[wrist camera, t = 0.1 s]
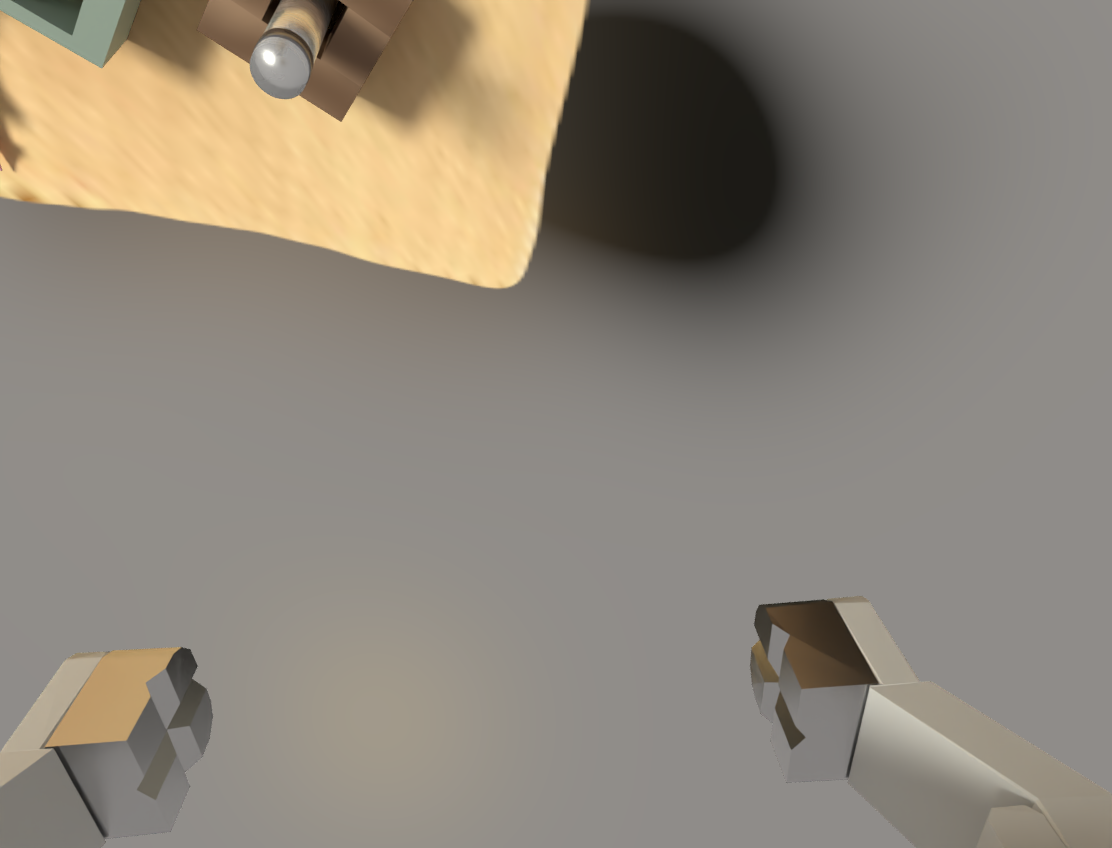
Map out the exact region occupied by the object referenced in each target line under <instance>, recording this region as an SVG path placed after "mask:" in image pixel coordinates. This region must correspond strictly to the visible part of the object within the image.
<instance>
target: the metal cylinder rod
mask: <svg viewBox="0 0 1112 848" xmlns="http://www.w3.org/2000/svg"><path fill="white" fill-rule="evenodd" d="M337 2H338V0H281V1H280V3H279V5H278V7H277V9H276V11H275V13H274V14H273V16H272V18H271V20H270V22H269V24H268V26H267V27H266V29H265V31H264V33H263V34H262V35H261V37H260V38H259V40H258V42H257V44H256V46H255V48H254V50H253V54H252V56H251V59H250V71H251V74H252V77H253V79H254V81H255V82H256V84H257V85H258V86H259V87H260V88H261V89H262V90H263V91H264V92H266V93H267V94H269V95H270V96H273V97H275V98H279V99H291V98H294V97H296V96H298V95H299V94H300V93H301V92H302V91H303V90H304V88H305V86H306V84H307V83H308V80H309V78H310V75H311V73H312V70H313V65H314V62H315V60H316V57H317V54H318V52H319V49H320V47H321V44H322V41H323V39H324V36H325V34H326V31H327V28H328V26H329V23H330V21H331V18H332V15H333V13H334V10H335V8H336V5H337Z"/></svg>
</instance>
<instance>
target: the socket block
mask: <svg viewBox="0 0 1112 848" xmlns="http://www.w3.org/2000/svg"><path fill="white" fill-rule="evenodd" d="M280 1H281V0H209V1H208V4H207V6H206V9H205V11H204V13H203V16H202V18H201V21H200V23H199V25H198V28H197V31H199V32H200V33H202V34H204V35H205V36H207V37H208V38H210V39H211V40H213V41H215V42H216V43H218V44H219V45H221V46H222V47H224V48H226V49H227V50H229V51H230V52H232V53H233V54H235V55H237V56H238V57H240V58H241V59H243V60H245V61H246V62H248V63H249V64H250V59H251V56H252V54H253V50H254V48H255V46H256V44H257V42H258V40H259V38H260V37H261V35H262V34H263V33H264V31H265V29H266V27H267V26H268V24H269V22H270V20H271V18H272V16H273V14H274V13H275V11H276V9H277V7H278V5H279V3H280ZM339 1H340V2H342V3H343V4H344V5H345V6H344V8H343V10H342V12H341V14H340V16H339V18H338V19H337V21H336V23H335V25H334V27H333V29H332V31H331V32H330V31H329V30H327V31H326V34H325V36H324V39H323V41H322V44H321V47H320V49H319V52H318V54H317V57H316V60H315V62H314V65H313V70H312V73H311V75H310V78H309V80H308V83H307V84H306V86H305V88H304V90H303V91H302V92H301V93H300V94H299V95H300V96H301V97H303V98H304V99H306V100H307V101H309V102H311V103H312V104H314V105H315V106H317V107H319V108H320V109H322V110H323V111H325V112H326V113H328V114H330V115H331V116H333V117H334V118H336V119H337V120H339V121H341V122H342V120H343V118H344V116H345V115H346V113H347V111H348V110H349V108H350V106H351V105H352V103H353V101H354V99H355V98H356V96H357V94H358V93H359V91H360V89H361V88H362V86H363V84H364V83H365V81H366V79H367V77H368V76H369V74H370V72H371V71H372V69H373V67H374V66H375V64H376V62H377V60H378V59H379V57H380V55H381V54H382V52H383V50H384V49H385V47H386V45H387V44H388V42H389V40H390V38H391V37H392V35H393V33H394V32H395V30H396V28H397V27H398V25H399V23H400V21H401V20H402V18H403V16H404V15H405V13H406V11H407V10H408V8H409V6H410V5H411V3H412V1H413V0H339Z"/></svg>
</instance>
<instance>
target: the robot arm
mask: <svg viewBox="0 0 1112 848" xmlns="http://www.w3.org/2000/svg"><path fill="white" fill-rule="evenodd" d="M754 626H755V629H756V631H757V634H758V636H759V639H760V640H759V641H758V642H757V643H756V644H755V645H754V646H753V647H752V648H751V660H750V670H751V680H752V687H753V691H754V695H755V699H756V702H757V705H758V707H759V711H760V714H761V715H763V716H764V717H765V718H766V719H768V720H769V721H770V722H772V723H773V725H772V733H771V743H772V746H773V749H774V752H775V754H776V757H777V759H778V762H779V765H780V767H781V770H782V773H783V776H784V778H785V781H786V783H792V782H811V781H831V780H848V784H850V786H852V787H853V788H854V789H855V790H856V791H857V792H858V793H859V794H860V795H861V796H862V797H863V798H864V799H865V800H866V801H867V802H868V803H869V804H870V805H872V806H873V807H874V808H875V809H876V810H877V811H878V812H879V813H880V814H881V815H882V816H883V817H884V818H885V819H886V820H887V821H888V822H889V823H890V824H892V825H893V826H894V827H895V828H896V829H897V830H898V831H899V832H900V833H901V834H902V835H903V836H904V837H905V838H906V839H907V840H908V841H910V843H912V844H913V845H914V846H915V847H916V848H1112V794H1111V793H1110V792H1108V791H1106V790H1105V789H1103V788H1101V787H1100V786H1098V785H1097V784H1095V783H1093V782H1092V781H1090V780H1088V779H1087V778H1086V777H1084V776H1082V775H1081V774H1079V773H1077V772H1076V771H1074V770H1073V769H1071V768H1069V767H1068V766H1066V765H1064V764H1063V763H1061V762H1060V761H1058V760H1056V759H1055V758H1053V757H1052V756H1050V755H1049V754H1047V753H1045V752H1044V751H1042V750H1041V749H1039V748H1037V747H1036V746H1034V745H1033V744H1031V743H1029V742H1028V741H1026V740H1025V739H1023V738H1021V737H1020V736H1018V735H1016V734H1015V733H1013V732H1012V731H1010V730H1008V729H1007V728H1005V727H1004V726H1002V725H1000V724H999V723H997V722H996V721H994V720H992V719H991V718H989V717H988V716H986V715H984V714H983V713H981V712H980V711H978V710H976V709H975V708H973V707H972V706H970V705H968V704H967V703H965V702H964V701H962V700H960V699H959V698H957V697H955V696H954V695H952V694H951V693H949V692H947V691H946V690H944V689H943V688H941V687H939V686H938V685H936V684H935V683H933V682H931V681H927V682H920V680H919V679H918V677H917V676H916V674H915V673H914V671H913V670H912V668H911V666H910V665H909V663H908V662H907V660H906V658H905V657H904V655H903V654H902V652H901V651H900V649H899V647H898V646H897V644H896V643H895V641H894V640H893V639H892V637H891V635H890V633H889V632H888V630H887V629H886V627H885V626H884V624H883V622H882V621H881V619H880V618H879V616H878V615H877V613H876V612H875V610H874V608H873V607H872V605H871V604H870V602H869V600H867V599H866V598H864V597H863V596H855V597H843V598H831V599H827V600H824V599H822V600H811V601H798V602H787V603H774V604H761V605H759V606H758V608H757V610H756V615H755V622H754ZM196 669H197V663H196V661H195V659H194V656H193V654H192V652H191V650H190V649H187V648H183V647H175V648H154V649H134V650H113V651H111V652H88V653H76V654H74V655H73V656H71V657H69V658H68V659H66V660H65V661H64V662H63V664H62V665H61V667H60V668H59V669H58V671H57V672H56V674H55V675H54V677H53V678H52V679H51V681H50V682H49V684H48V685H47V686H46V688H45V689H44V691H43V692H42V694H41V695H40V696H39V698H38V699H37V701H36V702H35V703H34V705H33V706H32V708H31V709H30V710H29V712H28V713H27V715H26V716H25V718H24V719H23V720H22V722H21V723H20V725H19V726H18V727H17V729H16V730H15V732H14V733H13V734H12V736H11V737H10V739H9V740H8V742H7V743H6V745H5V746H4V747H3V749H2V750H1V752H0V848H101V847H102V846H103V845H104V844H105V843H106V841H105V839H111V838H120V837H129V836H138V835H147V834H157V833H165V832H171V830H172V828H173V825H174V823H175V821H176V818H177V816H178V814H179V811H180V809H181V807H182V804H183V802H184V799H185V797H186V795H187V792H188V790H189V788H190V785H189V782H188V779H187V777H186V774H185V772H186V771H187V770H188V769H189V768H191V767H192V766H193V765H194V764H195V763H196V762H197V761H198V760H200V759H201V758H202V757H203V754H204V752H205V749H206V746H207V744H208V741H209V739H210V733H211V726H212V719H213V714H212V705H211V700H210V697H209V694H208V691H207V689H206V688H205V687H203V686H202V685H201V684H199V683H198V682H196V681H195V680H193V679H192V677H193V675H194V673H195V671H196Z"/></svg>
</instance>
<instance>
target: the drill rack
mask: <svg viewBox="0 0 1112 848" xmlns="http://www.w3.org/2000/svg"><path fill="white" fill-rule="evenodd" d="M140 1H141V0H0V10H1V11H3V12H4V13H6V14H8V15H9V16H11V17H13V18H15V19H16V20H18V21H20V22H22V23H23V24H25V25H27V26H29V27H30V28H32V29H34V30H36V31H37V32H39V33H41V34H43V35H44V36H46V37H48V38H50V39H51V40H53V41H55V42H57V43H58V44H60V45H62V46H63V47H65V48H67V49H69V50H70V51H72V52H74V53H76V54H77V55H79V56H81V57H83V58H84V59H86V60H88V61H90V62H91V63H93V64H95V65H97V66H98V67H100V68H103V67H104V65H105V64H106V63H107V62H108V61H109V60H110V58H111V57H112V56H113V55H114V54H115V53H116V51H117V50H118V49H119V48H120V47H121V46H122V45H123V43H124V42H125V41H126V40H127V37H128V35H129V32H130V29H131V26H132V24H133V21H134V18H135V15H136V12H137V10H138V7H139V4H140Z"/></svg>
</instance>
